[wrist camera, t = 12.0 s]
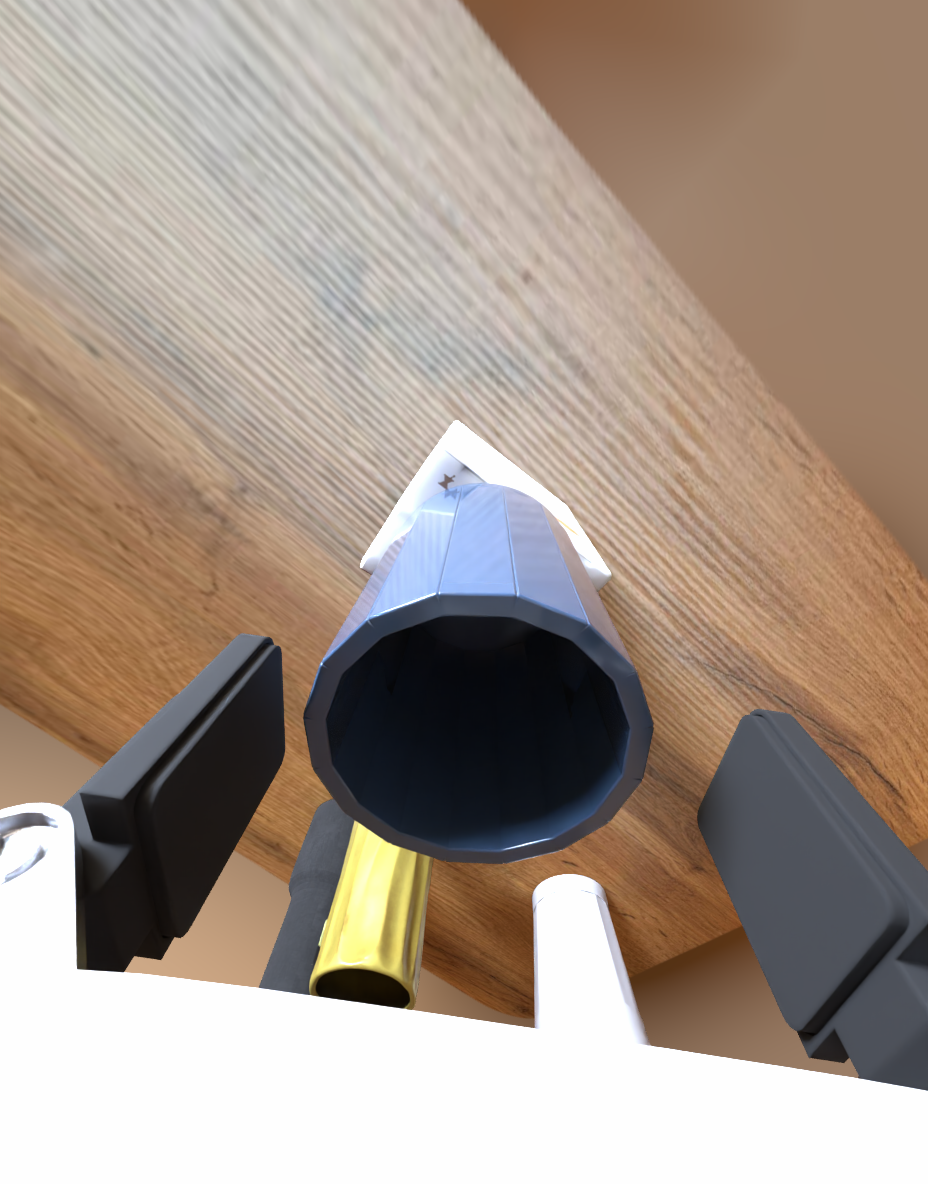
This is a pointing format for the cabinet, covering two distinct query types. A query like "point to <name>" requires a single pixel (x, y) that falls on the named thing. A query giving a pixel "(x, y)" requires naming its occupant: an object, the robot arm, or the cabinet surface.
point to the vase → (375, 925)
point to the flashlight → (309, 901)
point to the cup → (581, 964)
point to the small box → (478, 462)
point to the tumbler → (479, 689)
